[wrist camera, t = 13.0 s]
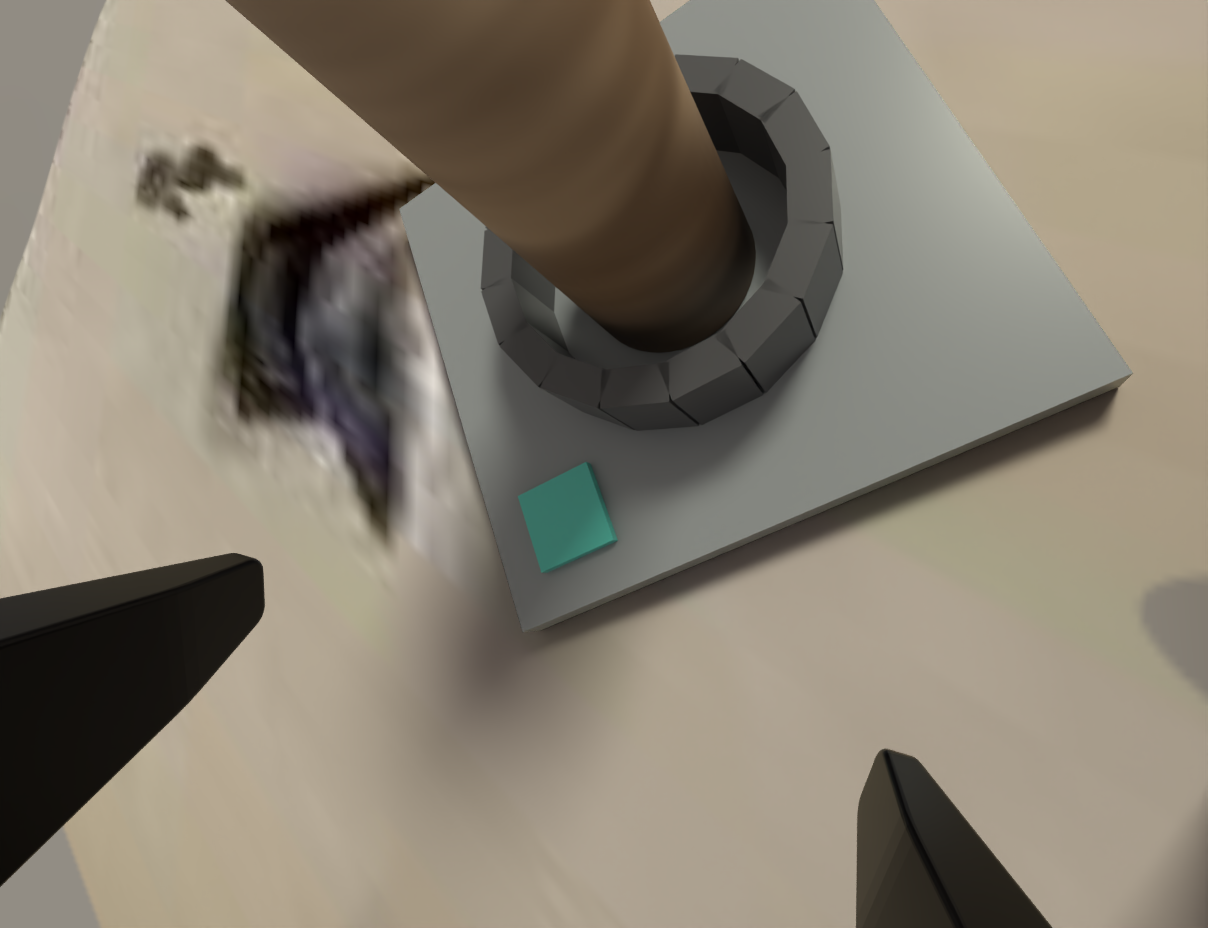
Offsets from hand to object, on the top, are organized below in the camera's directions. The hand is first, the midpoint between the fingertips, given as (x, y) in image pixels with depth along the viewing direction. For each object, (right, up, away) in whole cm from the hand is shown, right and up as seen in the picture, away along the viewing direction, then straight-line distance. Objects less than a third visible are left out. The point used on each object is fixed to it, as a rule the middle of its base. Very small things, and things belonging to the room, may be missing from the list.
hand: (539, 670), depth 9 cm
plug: (+3, +8, +10) cm, 13 cm away
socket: (+3, +8, +11) cm, 14 cm away
